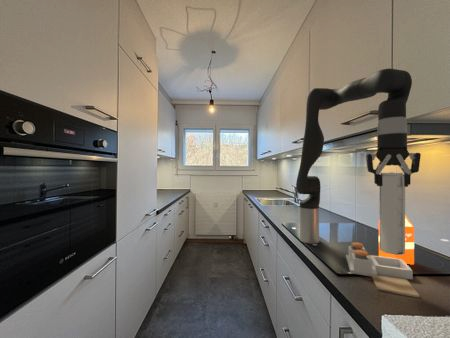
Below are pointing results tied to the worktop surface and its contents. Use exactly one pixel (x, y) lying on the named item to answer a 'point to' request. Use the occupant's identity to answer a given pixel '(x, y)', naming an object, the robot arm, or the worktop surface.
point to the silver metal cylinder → (392, 213)
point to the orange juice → (409, 244)
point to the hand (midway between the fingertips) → (391, 186)
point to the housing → (378, 266)
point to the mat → (394, 285)
